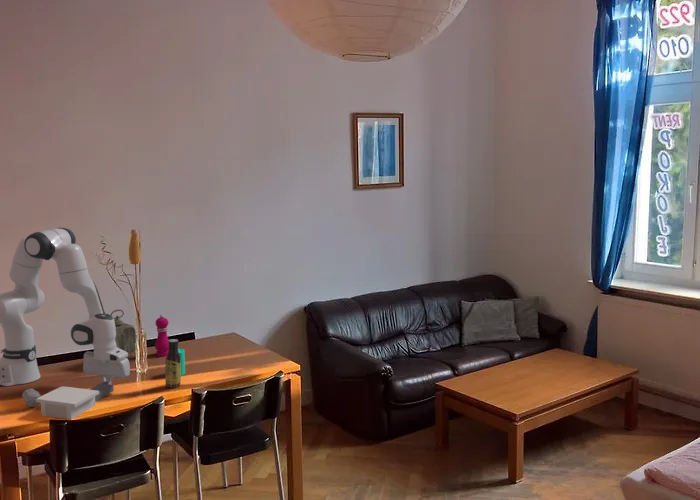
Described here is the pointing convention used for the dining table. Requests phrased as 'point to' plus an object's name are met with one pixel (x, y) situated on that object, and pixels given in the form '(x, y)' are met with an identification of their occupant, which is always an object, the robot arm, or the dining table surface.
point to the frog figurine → (31, 397)
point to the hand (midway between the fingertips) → (107, 385)
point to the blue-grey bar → (102, 390)
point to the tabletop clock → (124, 335)
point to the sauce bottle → (173, 365)
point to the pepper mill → (162, 337)
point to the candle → (182, 360)
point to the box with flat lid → (67, 402)
